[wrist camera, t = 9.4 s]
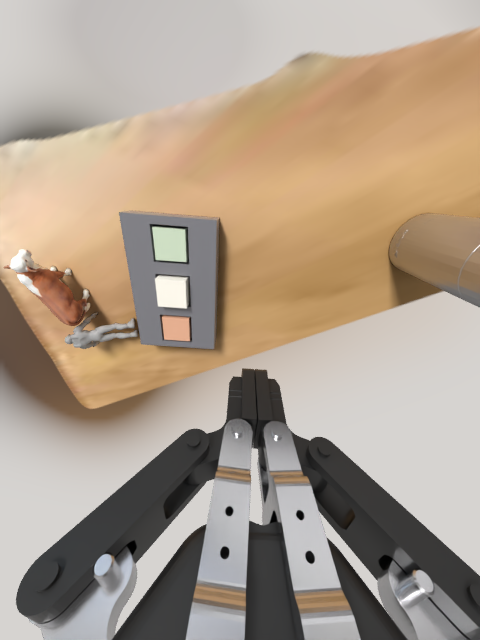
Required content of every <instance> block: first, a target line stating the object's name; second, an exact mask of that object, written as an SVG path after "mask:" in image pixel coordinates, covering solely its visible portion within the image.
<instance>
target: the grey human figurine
mask: <svg viewBox="0 0 480 640" xmlns="http://www.w3.org/2000/svg"><path fill="white" fill-rule="evenodd" d="M95 315H98V313H93V314H92V315H91V316H90V317H87V318H86V319H85V320H84V321H83V323H81V324H80V325H78V326H77V327H75V329H74V331H73V332H74V334H73V335H70V334H69V335H68V336H67V337H66V338H65V342H66V343H67V344H72V343H73V344H74V345H73V346H74V347H80V348H82V349H86V348H90V347H92V346H93V347H94V346H96V345H97V344H98V343H100V342H104V341H109V340H112V339H114V338H120V339H124V338H129V337H137V336H138V332H137V330H134V332H131V333H108V334H103V333H106V332H109V331H112V330H113V329H117V330H122V329H125V328H135V320H134V318H132V319H131V321H130V322H128V324H119V323H115V324H111V325H104V326H100V327H97V328H95V330H91V331H87V330H82V329H83V328H84V327H85V326H86V325H87V324H89V323H90V321H91V319H92V318H95ZM91 341H93V342H91Z"/></svg>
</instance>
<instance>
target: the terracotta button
mask: <svg viewBox="0 0 480 640" xmlns="http://www.w3.org/2000/svg"><path fill="white" fill-rule="evenodd" d="M162 323H163V332H164V340H179V341H190V339H191V337H192V325H191V317H187V316H173V315H163V316H162Z"/></svg>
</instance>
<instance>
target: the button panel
mask: <svg viewBox="0 0 480 640" xmlns="http://www.w3.org/2000/svg"><path fill="white" fill-rule="evenodd" d="M119 215H120V221H121V227H122V233H123V239H124V245H125V251H126V257H127V263H128V269H129V275H130V280H131V286H132V292H133V298H134V304H135V310H136V316H137V322H138V328H139V334H140V340H141V344H145V345H159V346H174V347H189V348H203V349H214V347H215V342H216V330H217V292H218V253H219V218H216V217H203V216H191V215H178V214H166V213H154V212H141V211H125V212H119ZM157 225H171V226H184V227H188V242H189V260H188V261H187V262H177V261H164V260H156V258H155V248H154V239H153V230H152V227H154V226H157ZM160 274H166V275H180V276H190V297H191V298H190V303H189V305H188V307H187V309H186V308H172V307H158V302H157V293H156V284H155V278H156V277H158V276H159V275H160ZM163 315H173V316H187V317H191V325H192V337H191V339H190V341H179V340H164V332H163V323H162V316H163Z"/></svg>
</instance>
